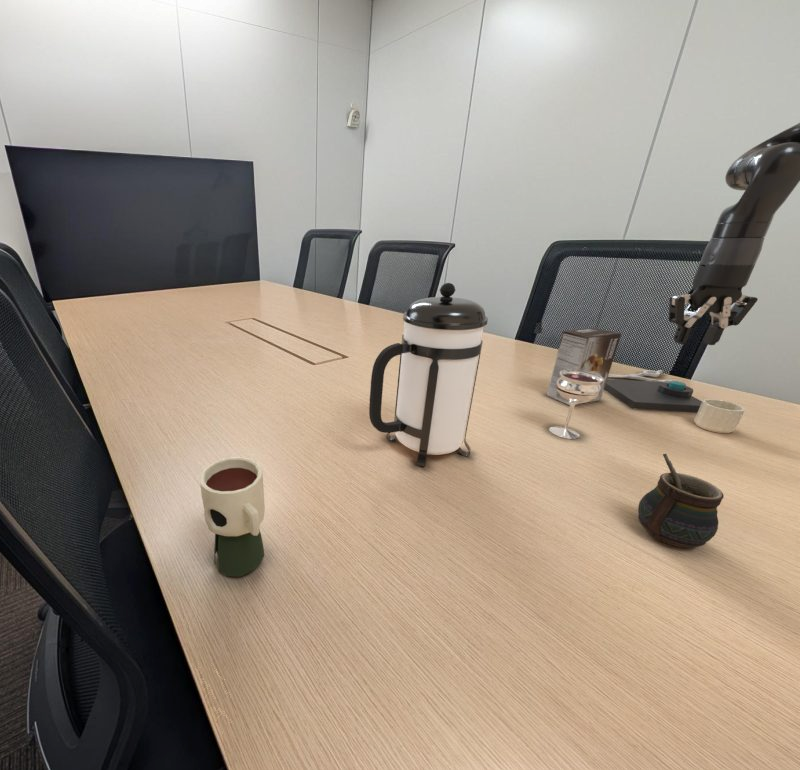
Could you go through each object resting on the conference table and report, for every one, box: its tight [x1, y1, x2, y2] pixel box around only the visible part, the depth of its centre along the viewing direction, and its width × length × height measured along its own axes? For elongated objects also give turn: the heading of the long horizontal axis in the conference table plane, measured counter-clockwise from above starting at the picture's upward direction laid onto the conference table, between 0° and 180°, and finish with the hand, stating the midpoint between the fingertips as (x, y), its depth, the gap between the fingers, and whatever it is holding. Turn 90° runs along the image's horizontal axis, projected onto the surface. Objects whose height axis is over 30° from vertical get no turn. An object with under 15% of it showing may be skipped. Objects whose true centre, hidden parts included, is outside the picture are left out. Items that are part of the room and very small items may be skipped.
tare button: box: [668, 380, 687, 390], centre depth 85 cm, size 3×3×1 cm
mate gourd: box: [637, 453, 725, 549], centre depth 47 cm, size 7×8×10 cm
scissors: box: [608, 369, 673, 383], centre depth 98 cm, size 11×1×20 cm
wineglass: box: [548, 370, 604, 440], centre depth 71 cm, size 7×7×12 cm
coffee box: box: [546, 327, 622, 406], centre depth 85 cm, size 9×6×16 cm
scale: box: [604, 378, 703, 413], centre depth 87 cm, size 14×14×3 cm
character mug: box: [199, 456, 266, 578], centre depth 45 cm, size 11×7×13 cm, turn 34°
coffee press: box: [368, 282, 489, 468], centre depth 64 cm, size 17×16×30 cm
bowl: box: [693, 398, 746, 434], centre depth 73 cm, size 6×6×5 cm
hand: (694, 343), depth 81 cm, fingers open, 4 cm apart
